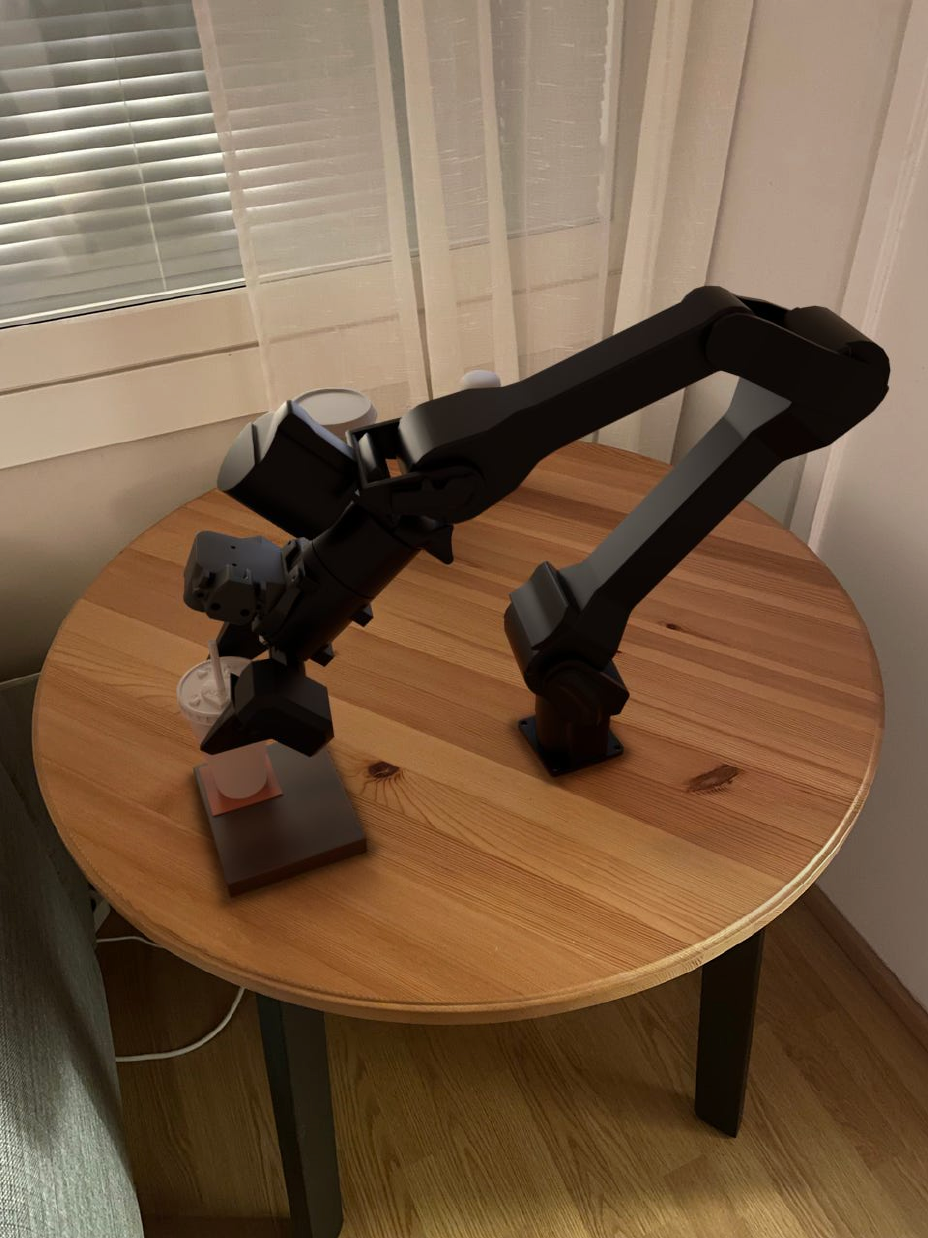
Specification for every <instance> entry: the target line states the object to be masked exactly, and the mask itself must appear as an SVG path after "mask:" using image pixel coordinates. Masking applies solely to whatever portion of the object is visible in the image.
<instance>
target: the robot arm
mask: <svg viewBox="0 0 928 1238" xmlns="http://www.w3.org/2000/svg"><path fill="white" fill-rule="evenodd" d="M890 362H891V361H890V358H889V355H888V354H887V352H886V351H885V349H884V348H883V347H882V346H880V345H879V344H877V343H876V342H875V341H873V340H872V339H871V338H869V337H868V336H866V334H864V333H863V332H861V330H859V329H857V328H856V327H855V326H853V325H852V324H850V323H849V322H848V321H846V319H844V318H843V317H841V316H840V315H839V314H837V313H835V312H834V311H833V310H831V309H830V308H828V307H826V306H822V305H821V306H820V305H810V306H809V305H808V306H803V307H799V306H797V307H793V308H792V309H790V308H787V307H784V306H782V305H779V304H776V303H774V302H771V301H769V300H766V299H762V298H757V297H751V296H746V295H745V296H744V295H739V294H735V293H734V292H730V291H729V290H728V289H727V288H724V287H722V286H720V285H703V286H698V287H696V288H694V289H692V290H691V291H689V292H688V293H686V294H685V295H684V296H683V298H682V299H681V301H680V302H677V303H675V304H672V305H670V306H669V307H667V308H665V309H663V310H662V311H659V312H657V313H656V314H653V315H651V316H649V317H647V318H645V319H643V320H641V321H639V322H637V323H635V324H633V325H631V326H629V327H627V328H625V329H623V330H621V331H618V332H617V333H614V334H612V335H611V336H609V337H606V338H605V339H602V340H601V341H599V342H597V343H595V344H593V345H590V346H588V347H587V348H584V349H582V350H581V351H579V352H576V353H575V354H573V355H571V356H567V358H565V359H562V360H560V361H558V362H557V363H555V364H553V365H551V366H548V367H546V368H544V369H542V370H541V371H538V372H535V373H534V374H532V375H530V376H528V377H527V378H524V379H522V380H520V381H516V382H512V383H510V384H506V385H501V387H487V388H470V389H465V390H462V391H460V390H459V391H456V392H452V393H449V394H446V395H443V396H440V397H436V398H434V399H431V400H427V401H424V402H422V403H419V404H417V405H416V406H414V407H413V408H411V409H410V410H408V411H407V412H405V414H404V415H403V416H400V417H397V418H392V419H387V420H383V421H380V422H375V424H371V425H367V426H363V427H359V428H355V429H351V430H348V431H346V433H345V440H346V443H345V442H343V441H342V440H341V439H339V438H338V437H336V436H335V435H334V434H332V433H331V432H329V431H328V430H327V429H325V428H324V427H322V426H321V425H320V424H318V423H317V422H316V421H314V420H313V419H312V418H311V416H310V415H309V414H308V413H307V412H306V411H305V410H304V409H303V408H301V407H300V406H299V405H297V404H296V403H295V402H293V401H292V399H286V400H284V401H283V403H282V404H281V405H280V407H279V408H278V409H276V411H268V412H266V413H264V414H262V415H261V416H259V417H258V418H257V419H256V420H255V421H254V422H251V421H250V422H248V423H247V424H246V425H245V426H244V428H243V429H242V430H241V431H240V432H239V434H238V435H237V436H236V438H235V439H234V441H233V443H232V444H231V445H230V447H229V449H228V451H227V453H226V454H225V456H224V458H223V460H222V463H221V465H220V468H219V470H218V474H217V480H216V487H217V489H218V491H220V492H222V493H223V494H225V495H226V496H228V497H230V499H232V500H234V501H236V502H237V503H239V504H241V505H242V506H244V507H245V508H247V509H248V510H250V511H251V512H253V513H255V514H257V515H258V516H260V517H261V518H263V519H265V520H266V521H268V522H269V523H270V524H272V525H274V526H276V527H277V528H279V529H280V530H282V531H283V532H285V533H287V534H289V535H290V536H291V538H289V539H288V540H287V542H286V543H285V544H284V545H283V546H282V547H280V546H279V545H277V544H275V542H272V541H271V540H269V539H268V538H266V537H265V536H263V535H251V536H245V537H244V536H243V537H237V536H234V535H229V534H225V533H221V532H216V531H213V530H212V531H211V530H200V531H197V532H196V533H195V537H194V540H193V543H192V545H191V548H190V551H189V555H188V558H187V561H186V564H185V568H184V570H183V594H182V599H183V600H182V601H183V603H184V605H186V606H187V607H188V608H189V609H191V610H193V611H195V612H200V613H204V614H205V615H206V616H207V618H208V619H210V620H214V621H220V622H223V623H222V626H221V628H220V630H219V632H218V634H217V637H216V638H215V640H216V644H217V649H218V654H219V657H228V656H234V657H242V658H246V659H249V660H252V661H251V662H250V663H249V664H248V665H247V666H246V668H245V669H244V670H243V671H242V672H241V674H240V676H237V675H235V674H233V673H230V693H231V702H230V703H229V704H228V706H227V707H226V709H225V710H224V711H223V713H222V714H221V715H220V717H219V718H218V719H217V721H216V722H215V723H214V725H213V726H212V728H211V729H210V730H209V732H208V733H207V735H206V736H205V738H204V740H203V741H202V743H201V744H200V745H199V750H200V751H201V752H202V751H203V752H205V753H207V754H209V755H216V754H219V753H223V752H226V751H229V750H233V749H236V748H240V747H243V746H247V745H250V744H253V743H257V742H261V741H265V740H266V741H269V740H273V741H275V742H279V743H281V744H283V745H285V746H287V747H289V748H291V749H293V750H296V751H298V752H300V753H302V754H304V755H306V756H308V757H312V756H314V755H316V754H317V753H318V752H319V751H320V750H321V749H322V748H324V747H326V746H327V745H328V744H329V743H330V742H331V741H332V740H333V739H334V738H335V731H334V723H333V717H332V710H331V704H330V703H331V702H330V698H329V691H328V687H327V686H326V685H325V684H322V683H320V682H318V681H316V680H315V679H313V678H311V677H310V676H308V675H307V669H306V662H307V661H308V660H311V661H312V662H314V663H316V664H318V665H320V666H321V667H323V668H325V667H327V666H328V665H329V664H330V662H332V661H333V659H334V658H335V654H334V649H333V642H334V641H335V640H336V639H337V638H338V637H339V636H340V635H341V634H342V633H343V631H345V629H346V628H348V627H349V626H350V624H352V622H354V623H355V624H357V625H359V626H360V627H362V628H365V627H366V626H367V625H368V624H369V623H370V622H371V621H372V620H373V619H374V618H375V617H374V612H373V608H372V605H371V604H372V602H373V601H374V600H375V599H376V598H377V597H378V595H380V594H381V593H382V592H383V591H384V590H385V589H386V588H387V587H388V586H389V585H390V584H391V582H393V580H395V579H396V578H397V576H399V575H400V574H401V572H402V571H403V570H404V569H405V568H406V567H407V566H408V565H409V564H410V563H411V562H412V561H413V560H414V559H415V558H416V557H417V556H419V554H420V553H421V552H422V551H424V552H425V553H427V554H429V555H430V556H432V557H433V558H435V559H436V560H438V561H439V562H440V563H442V564H444V565H446V566H449V565H451V564H453V563H454V561H455V556H454V552H453V533H454V530H455V525H459V524H462V523H465V522H468V521H472V520H473V519H475V518H477V517H479V516H480V515H481V514H483V513H485V512H486V511H488V510H489V509H491V508H492V507H493V506H495V505H496V504H498V503H499V502H501V501H502V500H504V499H505V498H507V497H508V496H510V495H511V494H513V493H514V492H515V491H516V490H518V489H519V487H521V485H522V484H523V482H524V481H525V480H526V479H527V477H528V476H529V475H530V474H531V473H532V471H533V470H534V469H535V468H536V466H537V465H538V464H539V463H540V462H541V461H543V460H545V459H546V458H547V457H549V456H551V455H552V454H554V452H555V453H556V451H558V450H561V449H563V448H565V447H567V446H568V445H570V444H573V443H575V442H577V441H579V440H581V439H583V438H585V437H587V436H589V435H591V434H594V433H595V432H597V431H599V430H601V429H604V428H605V427H607V426H610V425H612V424H614V423H616V422H617V421H620V420H621V419H624V418H626V417H627V416H630V415H632V414H634V413H636V412H638V411H640V410H642V409H644V408H647V407H648V406H650V405H653V404H654V403H657V402H659V401H661V400H663V399H665V398H667V397H669V396H671V395H674V394H675V393H677V392H679V391H681V390H684V389H685V388H687V387H690V386H692V385H693V384H696V383H697V382H699V381H701V380H704V379H706V378H708V377H710V376H713V375H715V374H716V373H718V372H723V373H726V374H729V375H733V376H734V377H735V376H736V377H738V379H737V383H736V386H735V389H734V392H733V395H732V397H731V401H730V403H729V406H728V408H727V409H726V411H725V413H723V415H722V416H721V417H720V419H718V420H717V421H716V422H715V424H714V425H712V427H711V428H710V429H708V431H707V432H706V433H705V434H704V435H703V436H702V437H701V438H700V439H699V440H698V441H697V442H696V443H695V444H694V446H692V448H690V450H689V451H688V452H687V453H686V454H685V455H684V456H683V457H682V458H681V459H680V460H679V461H678V462H677V463H676V464H675V466H673V467H672V468H671V469H670V470H669V471H668V473H667V474H665V476H664V477H662V479H661V480H660V481H659V482H658V483H657V484H656V485H655V486H654V487H653V488H652V489H651V490H650V491H649V492H648V493H647V495H645V496H644V498H643V499H642V500H641V501H640V502H639V503H637V505H636V506H635V507H634V508H633V509H632V510H631V511H630V512H629V513H628V514H627V515H626V516H625V517H624V518H623V519H622V520H621V521H620V523H619V524H618V525H617V526H616V527H615V528H614V529H613V530H612V531H611V532H609V534H608V535H607V536H606V537H605V538H604V539H603V540H602V541H601V542H600V543H599V545H597V546H596V547H595V548H594V550H592V552H591V553H590V554H589V555H588V556H587V557H586V558H584V559H583V560H582V561H581V562H577V563H574V564H571V565H568V566H565V567H562V568H558V569H557V568H556V567H555V566H554V565H553V564H552V563H551V562H550V561H549V560H544V561H542V562H541V563H539V564H538V565H537V566H536V567H535V569H534V571H533V572H532V573H531V575H530V576H529V577H528V579H527V580H526V581H525V582H524V583H523V584H522V585H520V586H519V587H518V588H516V589H514V590H513V591H511V592H509V593H508V597H509V599H510V603H509V604H508V606H507V608H506V609H505V611H504V614H503V630H504V633H505V636H506V638H507V641H508V644H509V646H510V649H511V651H512V654H513V656H514V659H515V661H516V664H517V666H518V669H519V671H520V674H521V677H522V679H523V682H524V684H525V685H526V688H527V689H528V690H529V691H530V692H531V693H533V694H534V695H535V697H534V698H535V702H534V715H531V716H527V717H525V718H522V719H520V720H519V721H518V722H517V728H518V730H519V731H520V733H521V734H522V736H523V737H524V740H526V742H527V743H528V745H529V747H530V748H531V749H532V751H533V752H534V755H535V756H536V757H537V759H538V760H539V762H540V763H541V765H542V766H543V767H544V768H545V769H544V770H546V772H547V773H548V775H549V776H551V777H553V778H557V777H562V776H564V775H567V774H570V773H573V772H576V771H579V770H581V769H585V768H588V767H590V766H594V765H597V764H600V763H603V762H605V761H608V760H611V759H614V758H618V757H620V756H622V755H623V754H624V750H625V747H624V745H623V744H622V743H621V742H620V740H619V739H618V738H617V736H616V735H615V733H613V731H612V730H611V728H610V725H611V717H614V716H619V715H621V714H622V712H623V709H624V708H625V706H626V704H627V702H628V700H629V698H630V696H631V693H630V691H629V690H628V687H627V685H626V684H625V682H624V680H623V678H622V675H621V673H620V672H619V670H618V668H617V666H616V664H615V662H614V660H613V659H614V658H615V656H616V655H617V653H618V651H619V647H620V645H621V642H622V640H623V637H624V633H625V630H626V627H627V624H628V621H629V619H630V616H631V614H632V612H633V610H635V608H636V607H637V606H638V605H639V604H640V603H641V602H642V601H643V600H644V599H645V598H646V597H647V596H648V595H649V594H650V593H651V592H652V591H653V590H654V589H655V588H656V587H657V586H658V585H659V584H660V583H662V581H663V580H664V579H665V578H666V577H667V576H669V574H670V573H671V572H672V571H673V570H674V569H675V568H676V567H677V566H678V565H679V564H680V563H681V562H683V560H684V559H685V558H686V557H687V556H688V555H689V554H691V552H693V550H695V548H696V547H697V546H698V545H699V544H700V543H702V541H703V540H705V538H706V537H707V536H709V535H710V534H711V533H712V531H714V529H716V527H717V526H718V525H719V524H721V523H722V521H724V520H725V519H726V518H727V517H728V515H730V514H731V513H732V512H733V511H734V510H735V509H736V508H737V507H738V506H739V505H740V504H741V503H742V502H743V501H744V500H745V499H746V498H747V497H748V496H749V495H750V494H751V493H752V492H753V491H754V490H756V488H757V487H758V486H759V485H760V484H761V483H762V482H763V481H764V480H765V479H766V478H767V477H768V476H769V475H770V474H772V472H773V471H775V470H776V468H777V467H779V466H780V465H781V464H782V463H784V462H786V461H789V460H791V459H794V458H797V457H800V456H804V455H806V454H810V453H812V452H815V451H818V450H821V449H823V448H826V447H829V446H831V445H832V444H834V443H835V442H836V441H837V440H839V439H840V438H842V437H843V436H844V435H846V434H847V433H848V432H850V431H851V430H852V429H853V428H855V427H856V426H857V425H859V424H860V423H861V422H863V421H865V419H866V418H868V417H869V416H870V415H871V414H872V413H874V412H875V411H876V409H877V408H878V407H879V406H880V405H881V404H882V402H883V401H884V400H885V399H886V396H887V394H888V392H889V391H890V386H889V381H890V375H891V372H892V371H891V363H890ZM387 460H394V461H395V460H396V463H397V466H398V468H399V471H400V474H401V475H396V476H391V473H390V469H389V466H388V463H387ZM267 651H268V658H263V659H256V658H257V657H259V656H261V655H263V654H264V653H265V652H267ZM210 659H211V657H210V652H209V653H208V655H207V657H206V659H205V661H207V660H210ZM254 659H255V660H254ZM203 752H202V753H203Z"/></svg>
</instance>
